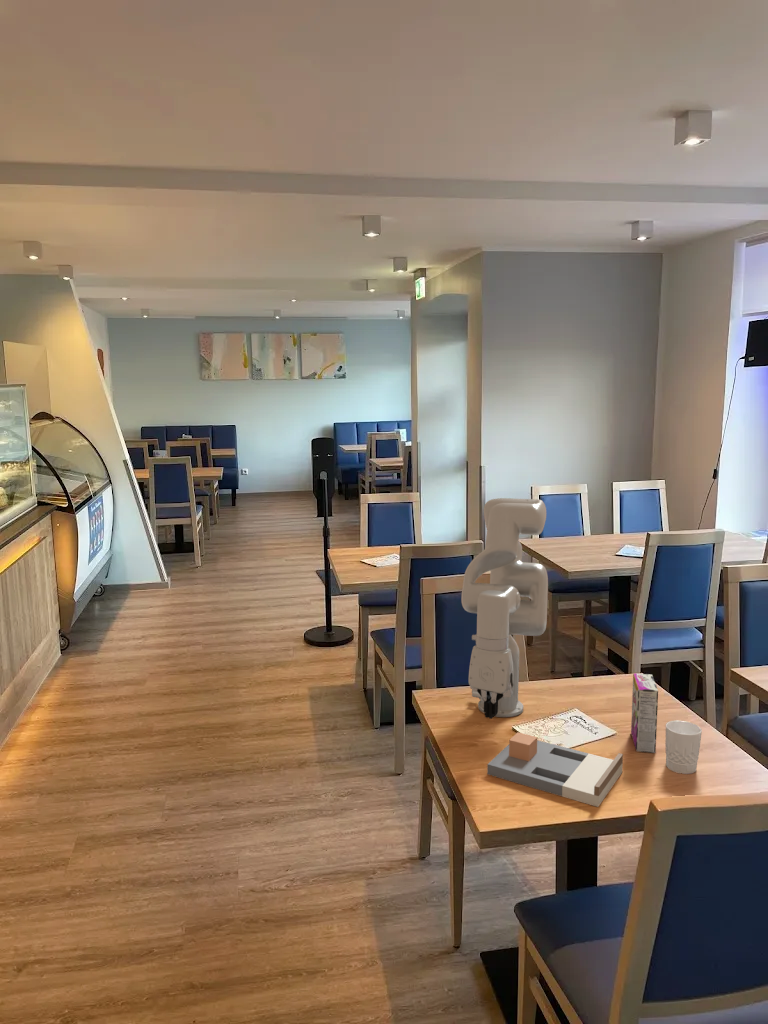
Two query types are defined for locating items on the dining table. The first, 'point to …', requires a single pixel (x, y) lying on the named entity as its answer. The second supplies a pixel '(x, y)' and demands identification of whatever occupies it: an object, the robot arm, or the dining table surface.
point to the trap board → (560, 772)
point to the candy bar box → (644, 713)
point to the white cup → (682, 746)
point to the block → (523, 746)
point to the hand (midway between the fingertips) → (490, 716)
